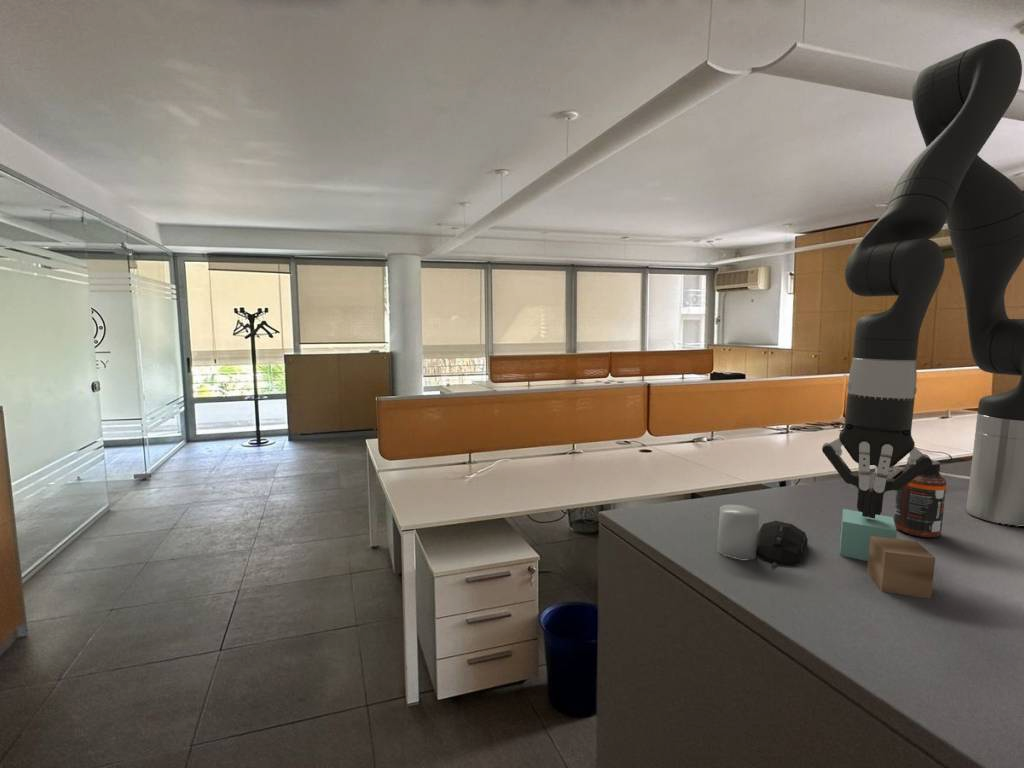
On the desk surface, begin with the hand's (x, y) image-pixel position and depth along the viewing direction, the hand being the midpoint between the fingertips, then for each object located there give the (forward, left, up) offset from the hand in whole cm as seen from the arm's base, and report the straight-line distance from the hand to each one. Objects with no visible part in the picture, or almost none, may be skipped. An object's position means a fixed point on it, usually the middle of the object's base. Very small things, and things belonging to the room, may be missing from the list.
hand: (868, 515), depth 73 cm
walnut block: (+9, +3, -6) cm, 11 cm away
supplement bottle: (-14, +7, -6) cm, 17 cm away
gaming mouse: (+7, -10, -6) cm, 14 cm away
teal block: (0, 0, -6) cm, 6 cm away
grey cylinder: (+10, -15, -5) cm, 19 cm away
